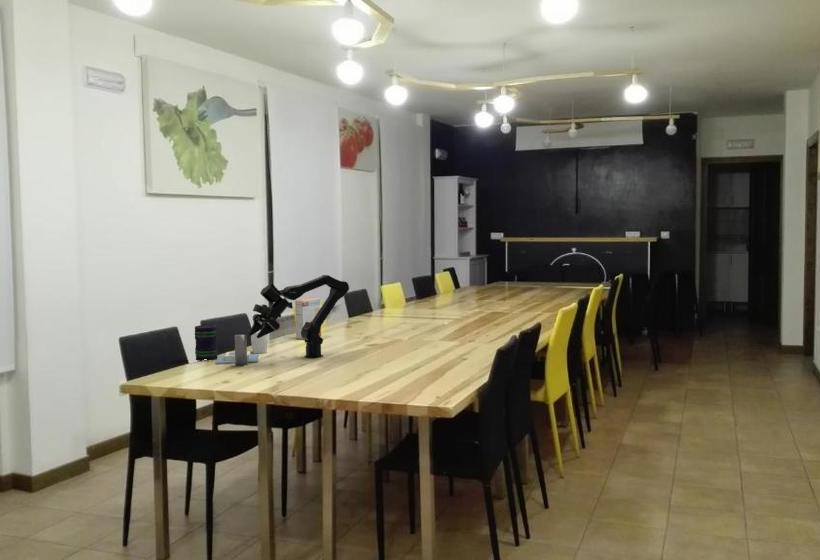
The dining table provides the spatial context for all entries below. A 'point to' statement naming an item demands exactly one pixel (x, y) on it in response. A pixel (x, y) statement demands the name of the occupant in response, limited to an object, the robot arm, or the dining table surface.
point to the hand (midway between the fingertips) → (253, 336)
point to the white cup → (259, 343)
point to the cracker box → (305, 313)
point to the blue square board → (231, 358)
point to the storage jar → (206, 342)
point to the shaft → (240, 350)
